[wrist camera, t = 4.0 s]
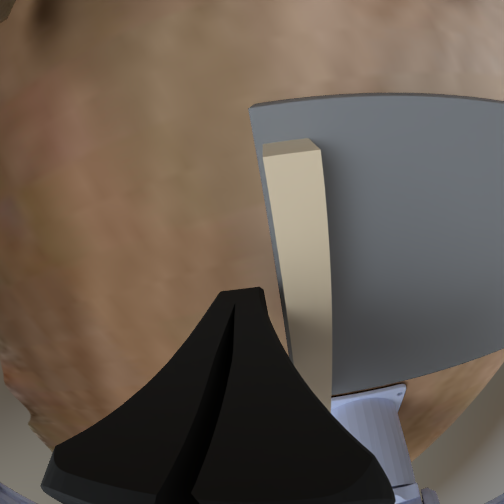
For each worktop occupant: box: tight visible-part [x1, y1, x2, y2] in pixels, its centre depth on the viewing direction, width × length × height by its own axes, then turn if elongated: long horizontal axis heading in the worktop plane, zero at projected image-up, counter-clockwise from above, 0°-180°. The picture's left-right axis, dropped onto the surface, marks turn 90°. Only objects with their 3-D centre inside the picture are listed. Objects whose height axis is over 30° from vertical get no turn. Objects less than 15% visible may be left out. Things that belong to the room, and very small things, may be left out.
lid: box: [248, 96, 504, 413], centre depth 9 cm, size 12×14×2 cm
